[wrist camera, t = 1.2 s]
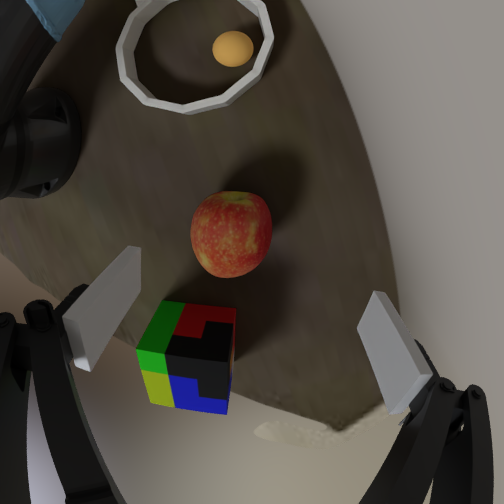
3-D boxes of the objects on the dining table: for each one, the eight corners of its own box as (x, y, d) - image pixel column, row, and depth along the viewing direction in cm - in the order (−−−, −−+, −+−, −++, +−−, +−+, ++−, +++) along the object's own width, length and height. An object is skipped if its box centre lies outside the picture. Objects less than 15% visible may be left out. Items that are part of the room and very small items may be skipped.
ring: (111, 98, 26) (98, 97, 24) (158, -15, 20) (150, -25, 17) (242, 129, 28) (239, 129, 25) (290, 6, 22) (292, -5, 19)
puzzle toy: (233, 361, 41) (226, 414, 31) (169, 353, 41) (150, 402, 31) (236, 307, 37) (227, 362, 27) (162, 299, 37) (135, 349, 28)
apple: (275, 190, 30) (279, 208, 23) (265, 260, 34) (265, 297, 26) (202, 182, 30) (182, 198, 23) (198, 252, 34) (181, 286, 26)
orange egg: (211, 65, 25) (203, 56, 21) (223, 34, 23) (217, 21, 20) (246, 74, 25) (244, 66, 22) (259, 43, 24) (258, 31, 20)
